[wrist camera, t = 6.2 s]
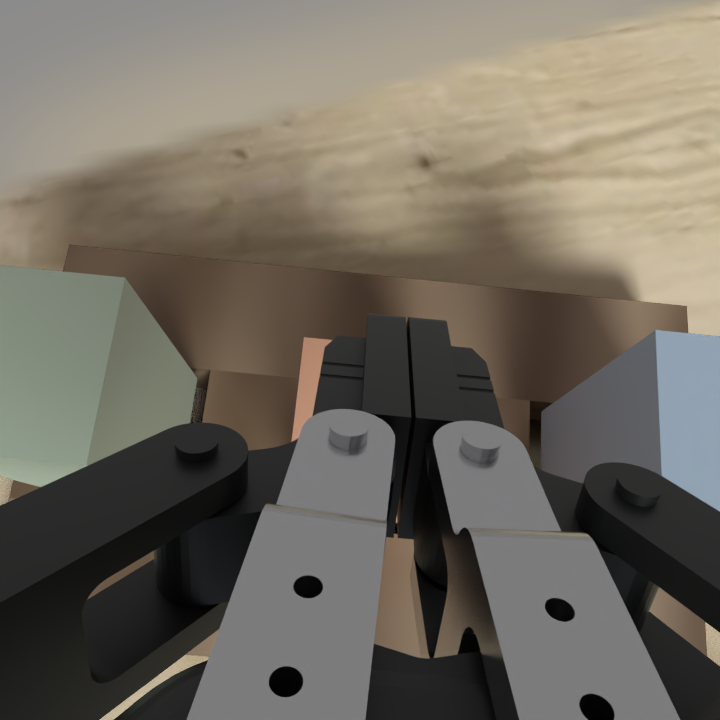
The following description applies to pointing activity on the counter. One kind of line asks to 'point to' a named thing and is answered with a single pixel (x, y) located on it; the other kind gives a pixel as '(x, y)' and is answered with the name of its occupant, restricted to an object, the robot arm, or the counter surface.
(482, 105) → the counter surface
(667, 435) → the slate block
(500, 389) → the walnut board
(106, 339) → the sage block
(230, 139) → the counter surface
